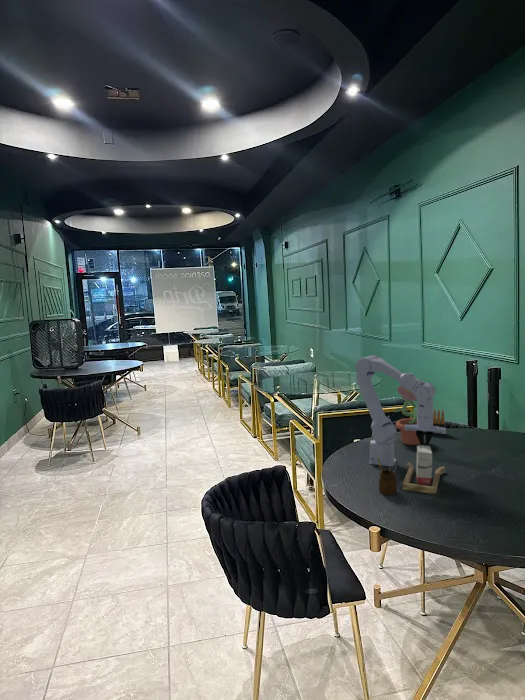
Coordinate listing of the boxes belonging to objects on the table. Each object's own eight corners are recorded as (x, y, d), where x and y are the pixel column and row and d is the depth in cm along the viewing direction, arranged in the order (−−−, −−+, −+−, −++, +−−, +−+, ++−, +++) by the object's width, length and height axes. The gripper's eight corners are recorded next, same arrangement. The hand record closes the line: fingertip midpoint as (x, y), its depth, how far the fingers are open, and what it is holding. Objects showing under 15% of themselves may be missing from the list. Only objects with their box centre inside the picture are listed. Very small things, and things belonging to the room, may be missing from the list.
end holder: (398, 488, 159) (398, 483, 159) (407, 467, 178) (407, 462, 178) (440, 494, 153) (440, 489, 153) (445, 471, 172) (445, 466, 172)
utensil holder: (396, 496, 154) (396, 462, 152) (377, 494, 156) (376, 460, 154) (397, 489, 159) (397, 456, 158) (379, 487, 161) (378, 454, 160)
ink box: (432, 485, 161) (432, 453, 160) (417, 484, 162) (417, 452, 161) (430, 475, 169) (430, 445, 168) (415, 474, 171) (415, 444, 169)
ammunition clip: (421, 433, 220) (421, 408, 218) (421, 431, 221) (421, 407, 220) (444, 434, 216) (444, 410, 214) (444, 433, 217) (444, 409, 216)
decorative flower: (391, 446, 203) (390, 380, 199) (394, 436, 216) (394, 375, 212) (426, 449, 197) (426, 381, 194) (428, 439, 210) (428, 375, 206)
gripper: (446, 414, 170) (446, 449, 172) (406, 411, 177) (406, 444, 178) (445, 419, 164) (444, 455, 166) (403, 415, 170) (403, 450, 172)
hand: (424, 450), depth 172 cm, fingers closed
